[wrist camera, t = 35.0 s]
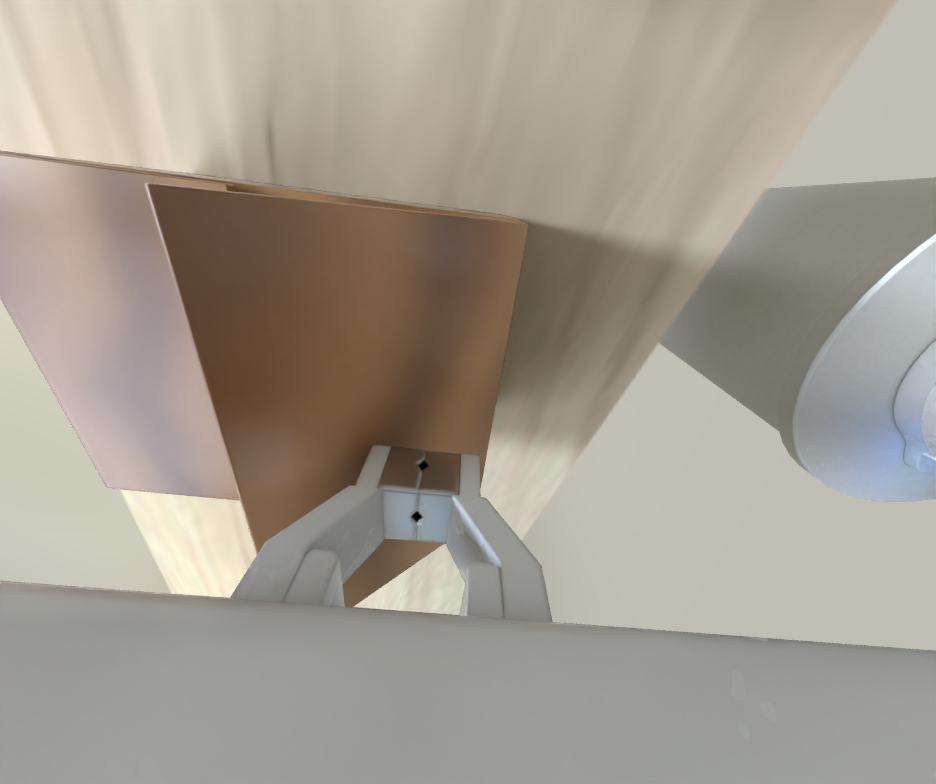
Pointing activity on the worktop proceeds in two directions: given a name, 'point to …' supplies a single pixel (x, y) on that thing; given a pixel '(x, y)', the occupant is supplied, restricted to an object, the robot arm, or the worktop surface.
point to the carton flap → (338, 341)
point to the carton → (120, 314)
